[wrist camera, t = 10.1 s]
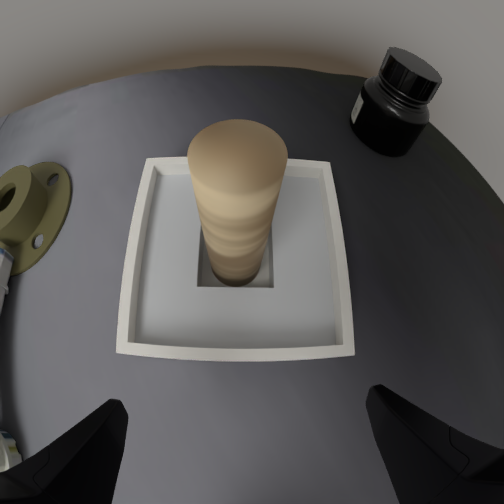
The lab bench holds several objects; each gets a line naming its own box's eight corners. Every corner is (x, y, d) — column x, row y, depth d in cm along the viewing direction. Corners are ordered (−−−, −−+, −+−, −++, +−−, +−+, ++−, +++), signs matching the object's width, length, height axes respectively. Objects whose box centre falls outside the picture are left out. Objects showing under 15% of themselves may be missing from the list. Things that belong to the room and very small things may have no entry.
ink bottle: (379, 107, 33) (408, 45, 22) (420, 150, 31) (462, 89, 20) (332, 117, 31) (360, 40, 20) (378, 167, 29) (425, 90, 17)
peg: (240, 296, 21) (247, 211, 9) (200, 267, 22) (166, 159, 10) (269, 258, 23) (305, 147, 11) (231, 231, 24) (230, 108, 12)
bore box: (332, 356, 21) (354, 355, 16) (138, 354, 20) (116, 352, 16) (316, 190, 26) (329, 162, 22) (157, 187, 26) (146, 158, 21)
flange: (-39, 212, 19) (-17, 293, 16) (33, 128, 24) (76, 177, 21) (-20, 228, 23) (11, 304, 20) (47, 150, 28) (95, 203, 25)
